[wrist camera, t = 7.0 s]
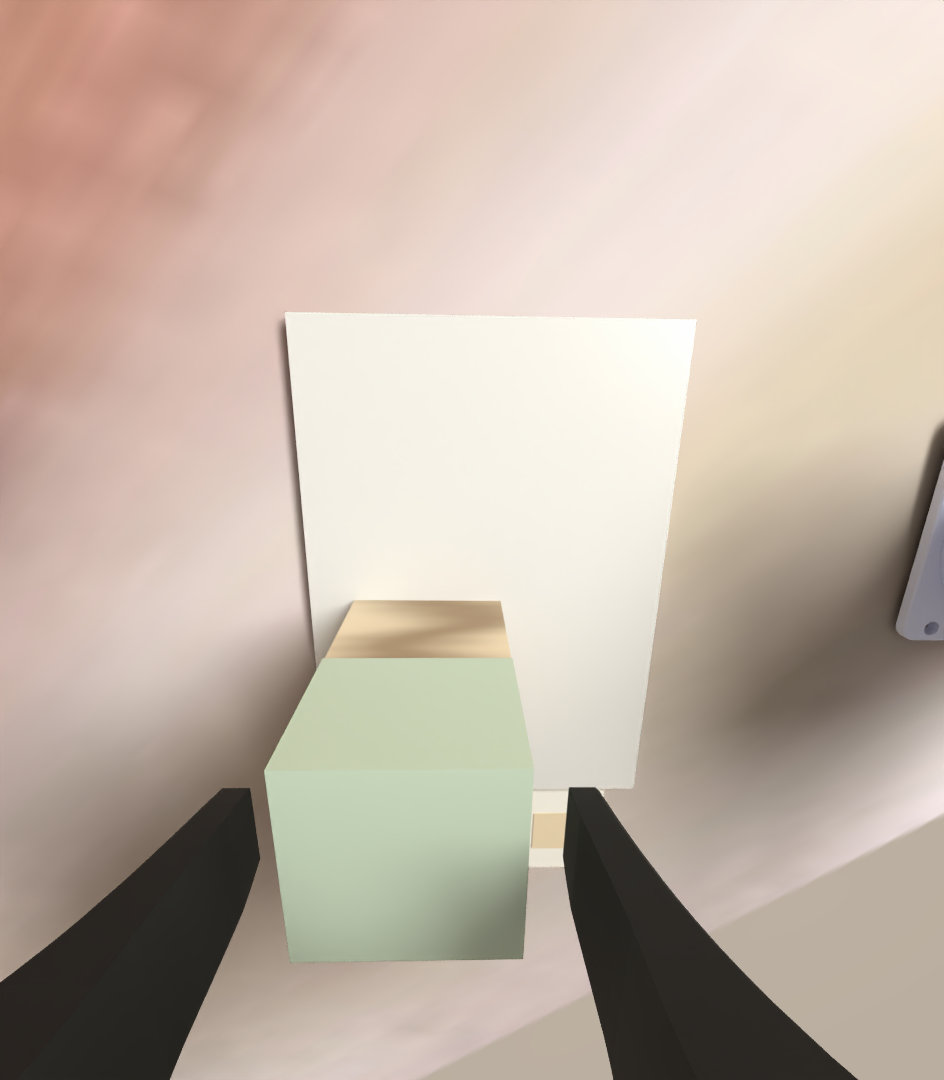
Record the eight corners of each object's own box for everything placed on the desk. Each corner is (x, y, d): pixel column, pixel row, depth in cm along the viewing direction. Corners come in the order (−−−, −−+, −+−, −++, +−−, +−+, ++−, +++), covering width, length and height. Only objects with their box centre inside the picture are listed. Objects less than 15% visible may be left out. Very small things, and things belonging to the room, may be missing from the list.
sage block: (512, 657, 13) (534, 768, 9) (506, 808, 14) (522, 958, 11) (322, 658, 13) (263, 771, 9) (335, 809, 14) (290, 962, 10)
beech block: (500, 600, 17) (512, 661, 13) (496, 724, 18) (505, 811, 14) (354, 599, 17) (322, 661, 13) (361, 724, 18) (335, 813, 14)
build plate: (687, 322, 15) (696, 319, 14) (628, 777, 20) (633, 788, 19) (291, 315, 15) (284, 311, 14) (330, 778, 20) (326, 790, 19)
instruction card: (602, 787, 20) (604, 792, 20) (594, 862, 21) (595, 868, 21) (455, 788, 20) (455, 793, 20) (455, 863, 21) (455, 869, 21)
